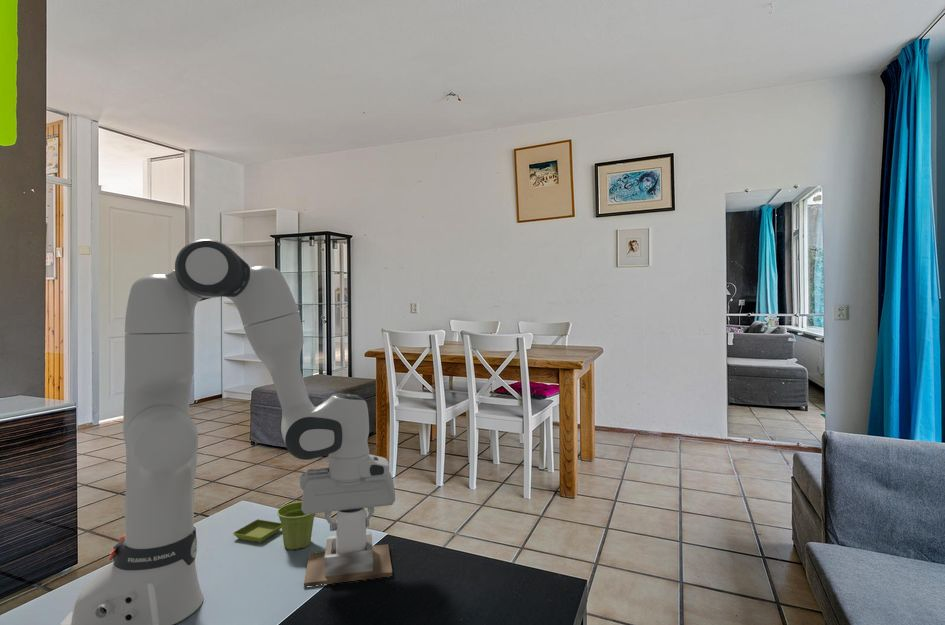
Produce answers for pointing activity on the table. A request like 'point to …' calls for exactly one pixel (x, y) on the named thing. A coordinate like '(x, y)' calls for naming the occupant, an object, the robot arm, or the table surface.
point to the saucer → (258, 530)
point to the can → (351, 531)
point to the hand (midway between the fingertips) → (349, 527)
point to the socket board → (347, 564)
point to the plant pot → (295, 525)
